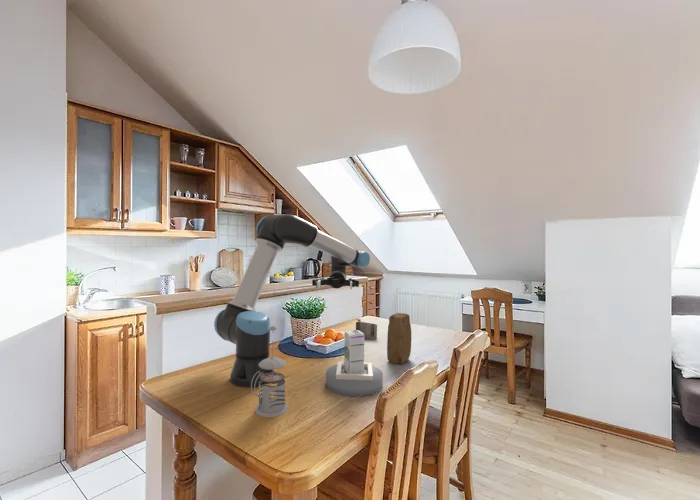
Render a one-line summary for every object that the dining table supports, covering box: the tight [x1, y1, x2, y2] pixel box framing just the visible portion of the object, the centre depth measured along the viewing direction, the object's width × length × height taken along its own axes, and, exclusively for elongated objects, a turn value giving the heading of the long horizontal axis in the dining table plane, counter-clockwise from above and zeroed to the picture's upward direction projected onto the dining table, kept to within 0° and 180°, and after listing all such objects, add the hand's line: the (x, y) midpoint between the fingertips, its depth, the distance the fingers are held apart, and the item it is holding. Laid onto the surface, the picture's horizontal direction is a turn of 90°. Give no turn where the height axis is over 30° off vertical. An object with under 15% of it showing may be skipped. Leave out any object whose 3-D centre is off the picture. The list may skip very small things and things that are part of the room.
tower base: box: [325, 361, 384, 397], centre depth 123 cm, size 20×20×6 cm
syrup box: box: [343, 329, 365, 374], centre depth 122 cm, size 6×6×14 cm
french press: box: [250, 325, 289, 418], centre depth 102 cm, size 10×12×25 cm
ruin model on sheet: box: [355, 318, 378, 340], centre depth 182 cm, size 11×3×10 cm, turn 58°
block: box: [386, 312, 412, 365], centre depth 147 cm, size 11×8×20 cm
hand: (334, 285), depth 142 cm, fingers open, 13 cm apart
